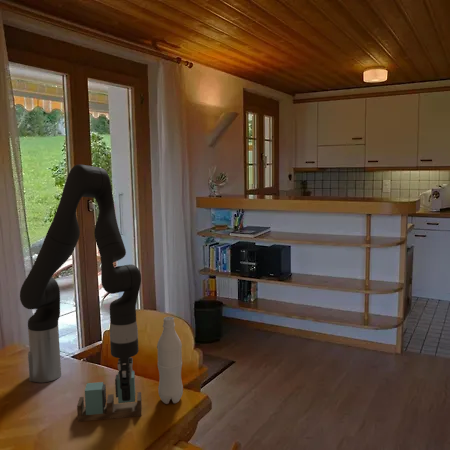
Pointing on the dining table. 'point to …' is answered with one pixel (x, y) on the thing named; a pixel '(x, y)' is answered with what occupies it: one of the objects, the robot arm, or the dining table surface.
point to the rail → (111, 409)
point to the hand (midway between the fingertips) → (126, 395)
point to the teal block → (119, 390)
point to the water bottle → (169, 363)
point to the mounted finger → (95, 398)
